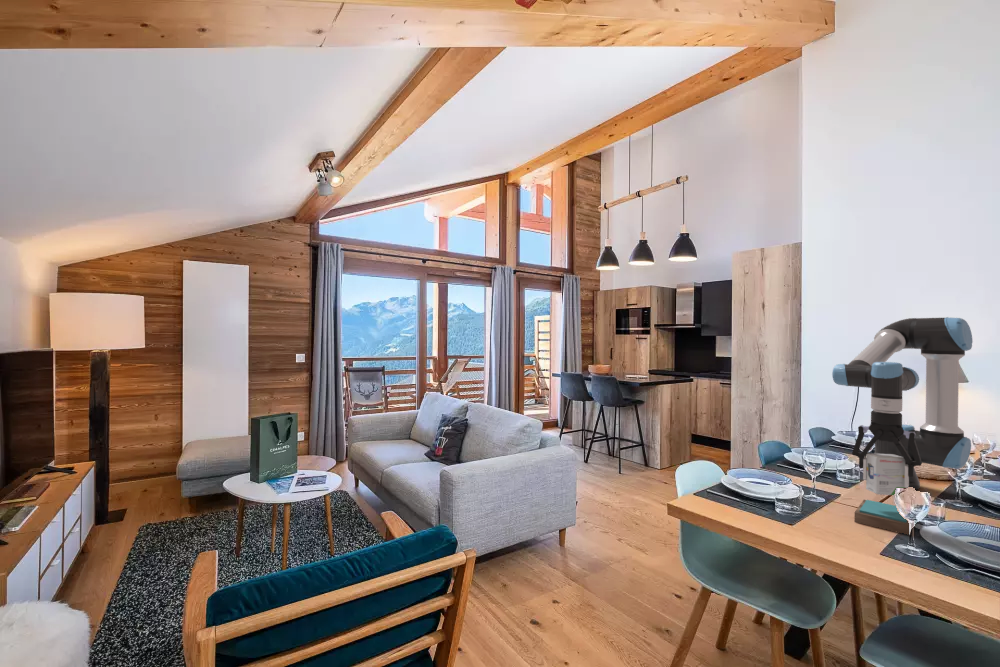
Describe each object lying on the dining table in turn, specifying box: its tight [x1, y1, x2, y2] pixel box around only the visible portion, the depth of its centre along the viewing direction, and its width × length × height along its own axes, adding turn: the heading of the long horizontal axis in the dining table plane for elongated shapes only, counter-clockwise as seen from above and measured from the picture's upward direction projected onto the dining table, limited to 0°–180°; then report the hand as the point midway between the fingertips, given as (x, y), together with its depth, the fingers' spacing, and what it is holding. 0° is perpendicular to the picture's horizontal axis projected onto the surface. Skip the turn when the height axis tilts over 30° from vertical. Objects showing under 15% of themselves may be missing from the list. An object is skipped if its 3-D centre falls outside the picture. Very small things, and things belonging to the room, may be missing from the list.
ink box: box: [865, 452, 905, 496], centre depth 145 cm, size 9×5×12 cm, turn 84°
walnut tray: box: [854, 499, 909, 536], centre depth 145 cm, size 16×13×4 cm
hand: (885, 482), depth 145 cm, fingers closed on ink box, 9 cm apart
